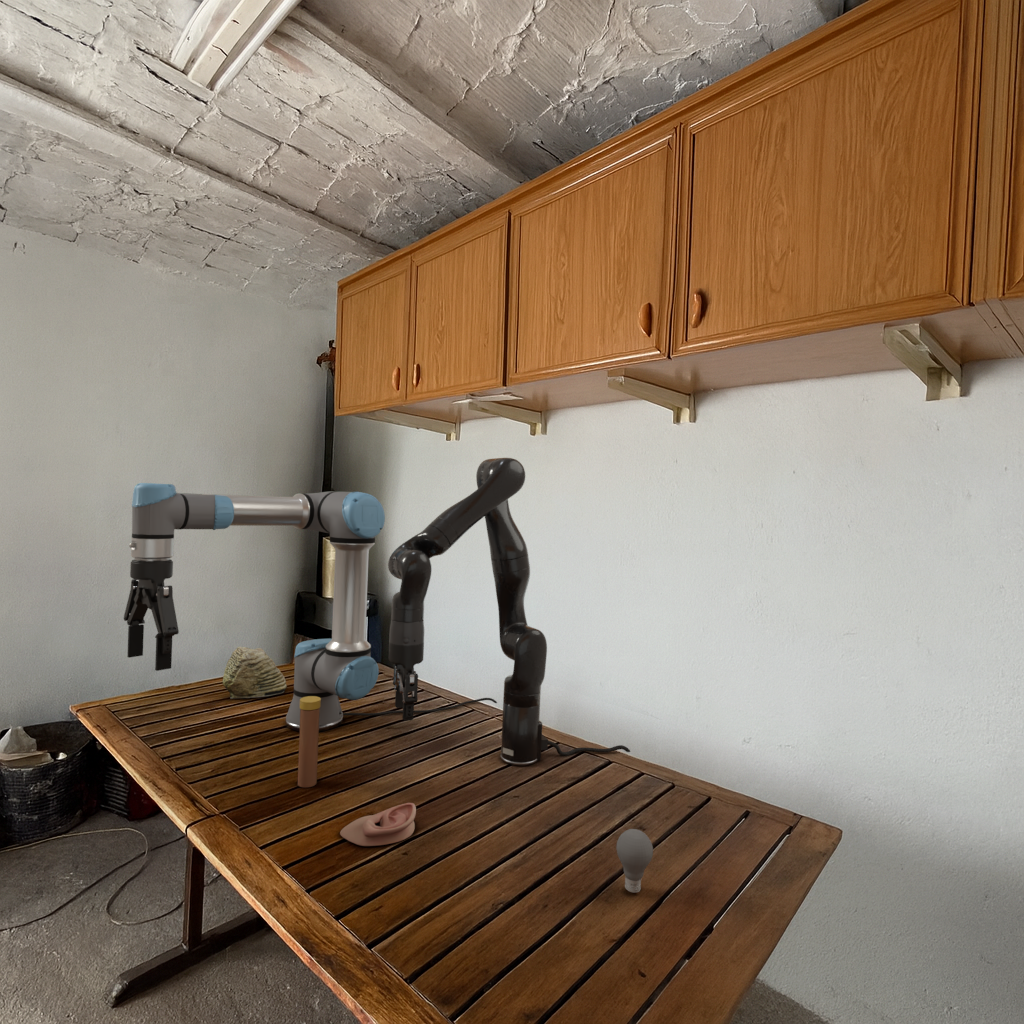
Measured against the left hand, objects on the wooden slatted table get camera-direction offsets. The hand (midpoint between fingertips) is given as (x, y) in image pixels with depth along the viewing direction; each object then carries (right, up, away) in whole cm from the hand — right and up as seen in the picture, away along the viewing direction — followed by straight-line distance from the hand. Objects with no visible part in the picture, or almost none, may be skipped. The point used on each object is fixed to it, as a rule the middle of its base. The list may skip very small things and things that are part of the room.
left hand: (148, 662), depth 129 cm
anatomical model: (+49, -30, -8) cm, 58 cm away
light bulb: (+94, -33, -24) cm, 103 cm away
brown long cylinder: (+29, -29, +10) cm, 42 cm away
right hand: (+51, -13, +9) cm, 53 cm away
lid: (+30, -11, +10) cm, 33 cm away
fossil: (-6, -27, +69) cm, 74 cm away
